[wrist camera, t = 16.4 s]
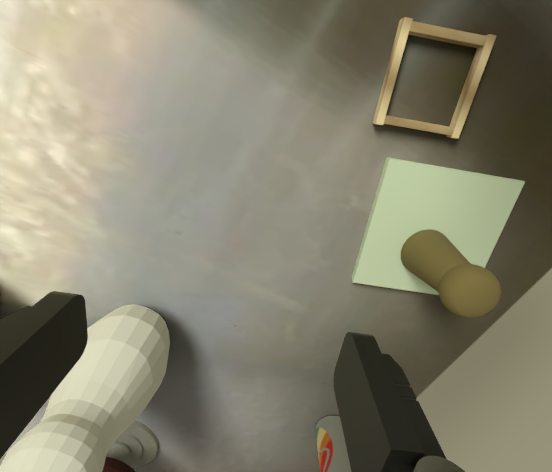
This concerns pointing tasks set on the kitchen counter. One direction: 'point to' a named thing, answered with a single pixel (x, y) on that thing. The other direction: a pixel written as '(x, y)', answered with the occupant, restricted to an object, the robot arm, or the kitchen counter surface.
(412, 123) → the oak holder frame
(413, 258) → the cork
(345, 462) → the lotion bottle
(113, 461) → the mate gourd
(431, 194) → the sage board
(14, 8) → the kitchen counter surface
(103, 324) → the soap bottle
